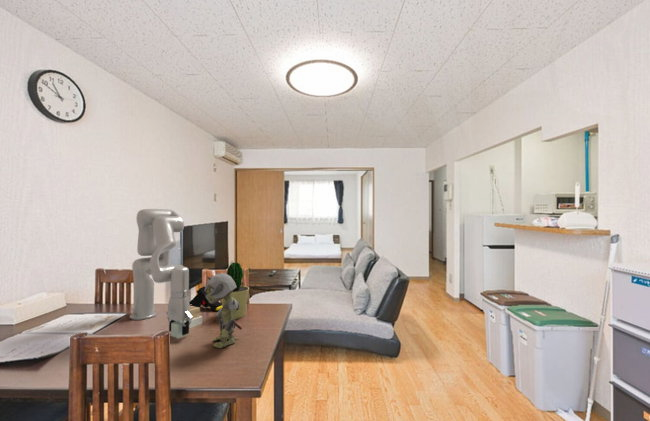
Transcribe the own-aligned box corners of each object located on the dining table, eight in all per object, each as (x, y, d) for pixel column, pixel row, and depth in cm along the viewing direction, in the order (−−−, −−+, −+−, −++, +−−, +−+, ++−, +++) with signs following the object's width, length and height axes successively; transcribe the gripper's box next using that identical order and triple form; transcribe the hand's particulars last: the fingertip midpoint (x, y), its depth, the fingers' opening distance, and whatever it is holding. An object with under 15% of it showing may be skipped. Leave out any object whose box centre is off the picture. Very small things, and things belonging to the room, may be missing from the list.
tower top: (181, 317, 153) (181, 308, 153) (192, 314, 158) (192, 305, 158) (189, 320, 150) (189, 310, 150) (199, 316, 155) (199, 307, 155)
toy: (203, 338, 137) (205, 271, 137) (241, 334, 142) (242, 269, 143) (203, 352, 122) (204, 277, 123) (244, 347, 128) (245, 275, 129)
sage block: (171, 336, 139) (171, 323, 139) (179, 332, 143) (180, 320, 143) (177, 338, 137) (177, 324, 137) (186, 334, 141) (186, 321, 141)
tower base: (179, 326, 152) (179, 318, 152) (192, 321, 159) (192, 314, 159) (189, 328, 149) (189, 320, 149) (202, 324, 155) (202, 316, 156)
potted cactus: (252, 312, 175) (253, 259, 176) (242, 321, 160) (243, 263, 160) (227, 310, 177) (227, 259, 177) (214, 319, 161) (215, 262, 162)
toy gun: (207, 324, 177) (218, 308, 174) (188, 303, 181) (198, 287, 179) (213, 321, 181) (224, 305, 179) (194, 300, 186) (204, 285, 184)
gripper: (160, 293, 141) (159, 331, 141) (185, 298, 133) (184, 339, 133) (174, 290, 148) (173, 326, 147) (199, 295, 140) (198, 333, 139)
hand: (178, 332), depth 140 cm, fingers open, 8 cm apart
